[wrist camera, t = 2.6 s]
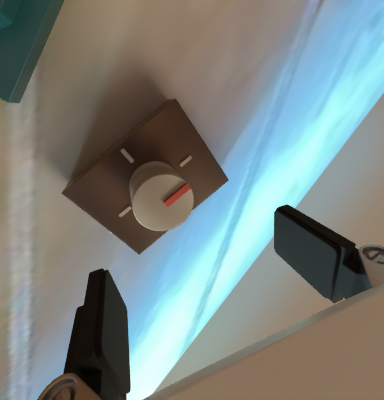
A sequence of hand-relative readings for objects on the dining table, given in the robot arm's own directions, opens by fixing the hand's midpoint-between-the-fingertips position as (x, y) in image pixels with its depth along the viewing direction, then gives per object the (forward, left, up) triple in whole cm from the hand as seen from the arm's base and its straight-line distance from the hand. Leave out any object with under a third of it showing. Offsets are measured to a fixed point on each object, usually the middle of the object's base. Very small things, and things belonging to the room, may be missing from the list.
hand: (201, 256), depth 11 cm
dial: (-1, 0, -11) cm, 11 cm away
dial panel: (-1, 0, -14) cm, 14 cm away
